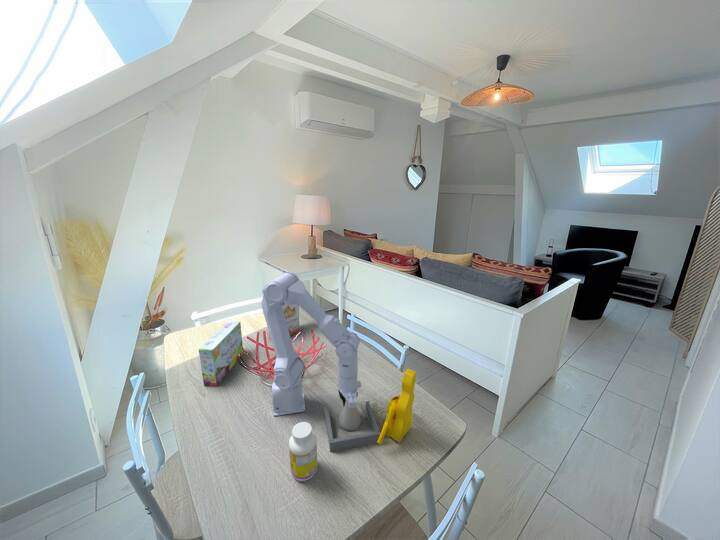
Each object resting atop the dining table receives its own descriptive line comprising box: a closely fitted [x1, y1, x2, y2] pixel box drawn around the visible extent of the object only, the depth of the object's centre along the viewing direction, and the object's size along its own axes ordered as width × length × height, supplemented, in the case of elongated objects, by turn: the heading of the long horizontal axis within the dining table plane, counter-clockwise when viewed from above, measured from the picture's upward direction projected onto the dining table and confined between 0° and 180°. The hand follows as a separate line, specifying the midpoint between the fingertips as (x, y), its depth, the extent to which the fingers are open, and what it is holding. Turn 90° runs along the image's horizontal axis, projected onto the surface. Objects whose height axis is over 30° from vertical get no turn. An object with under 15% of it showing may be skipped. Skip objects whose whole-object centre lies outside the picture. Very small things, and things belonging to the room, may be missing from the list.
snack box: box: [198, 320, 244, 387], centre depth 107 cm, size 21×6×15 cm, turn 178°
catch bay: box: [324, 400, 381, 452], centre depth 83 cm, size 14×12×3 cm
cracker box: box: [268, 300, 300, 340], centre depth 131 cm, size 14×6×21 cm, turn 142°
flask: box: [338, 398, 363, 432], centre depth 84 cm, size 7×7×10 cm
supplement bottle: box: [288, 421, 318, 482], centre depth 69 cm, size 7×7×13 cm
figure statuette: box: [377, 368, 417, 445], centre depth 79 cm, size 18×8×22 cm, turn 147°
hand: (347, 409), depth 88 cm, fingers closed, pressing on flask
